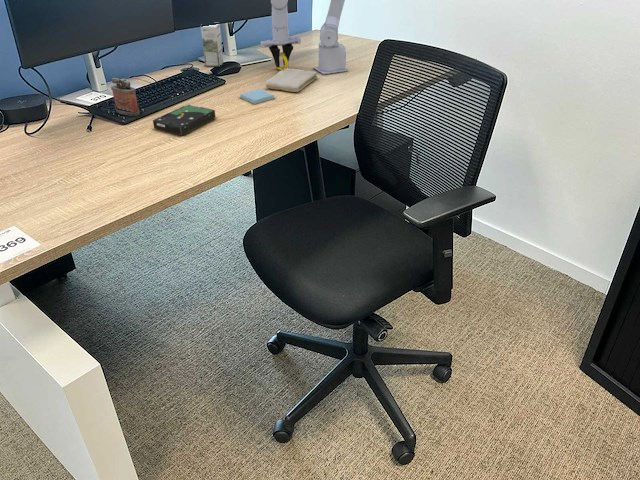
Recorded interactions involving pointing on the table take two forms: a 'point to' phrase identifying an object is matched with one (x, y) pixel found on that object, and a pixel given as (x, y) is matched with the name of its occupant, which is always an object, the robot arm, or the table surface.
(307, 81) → the washcloth
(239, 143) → the table surface
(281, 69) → the yellow ring
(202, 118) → the disk drive
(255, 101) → the sticky note pad
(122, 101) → the lighter
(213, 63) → the syrup box
